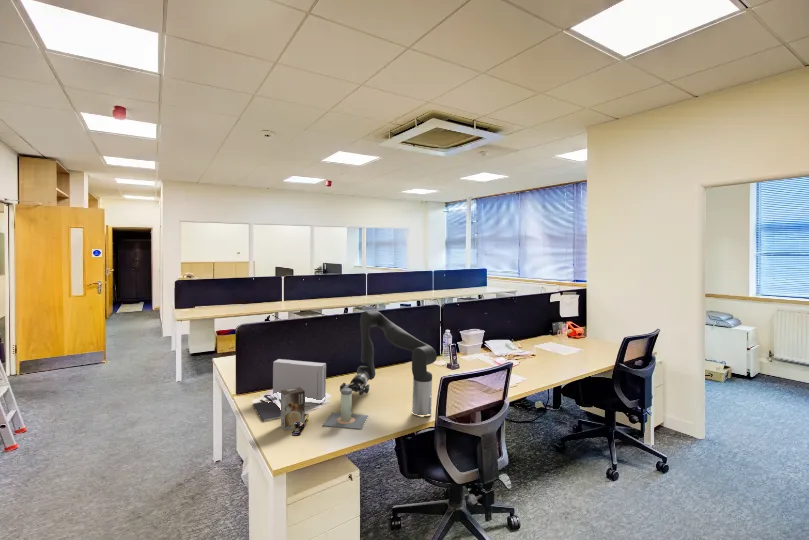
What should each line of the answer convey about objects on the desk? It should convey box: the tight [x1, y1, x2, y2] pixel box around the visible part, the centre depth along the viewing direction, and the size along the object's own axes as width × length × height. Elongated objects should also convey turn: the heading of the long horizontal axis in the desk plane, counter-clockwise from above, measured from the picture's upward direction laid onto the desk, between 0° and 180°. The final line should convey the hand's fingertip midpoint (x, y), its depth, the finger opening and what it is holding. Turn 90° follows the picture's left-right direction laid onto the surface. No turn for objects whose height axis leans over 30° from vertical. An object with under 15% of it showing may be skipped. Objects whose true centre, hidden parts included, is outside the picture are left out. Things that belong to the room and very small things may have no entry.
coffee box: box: [280, 387, 306, 431], centre depth 170 cm, size 9×6×16 cm
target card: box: [321, 411, 369, 430], centre depth 177 cm, size 18×14×1 cm
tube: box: [340, 388, 353, 422], centre depth 177 cm, size 5×5×14 cm
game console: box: [272, 358, 327, 400], centre depth 200 cm, size 6×27×20 cm, turn 78°
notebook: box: [252, 401, 281, 422], centre depth 186 cm, size 13×2×21 cm
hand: (351, 393), depth 185 cm, fingers open, 8 cm apart
